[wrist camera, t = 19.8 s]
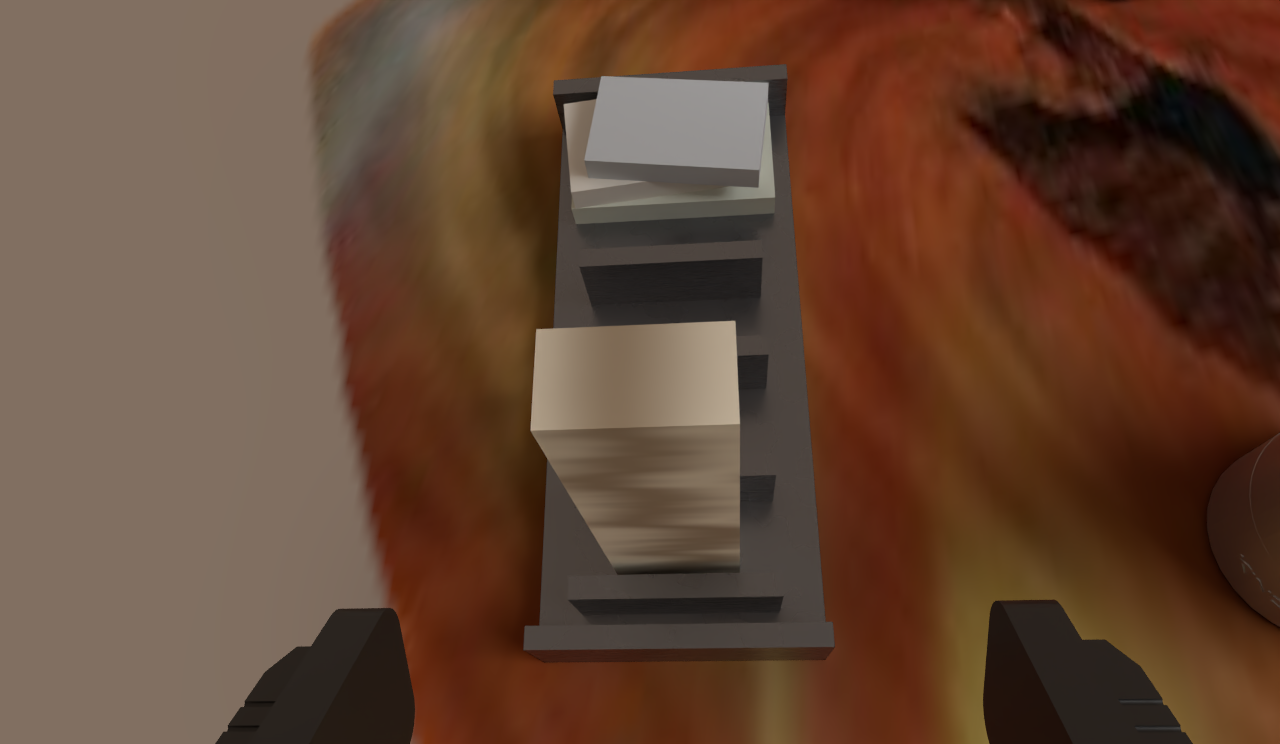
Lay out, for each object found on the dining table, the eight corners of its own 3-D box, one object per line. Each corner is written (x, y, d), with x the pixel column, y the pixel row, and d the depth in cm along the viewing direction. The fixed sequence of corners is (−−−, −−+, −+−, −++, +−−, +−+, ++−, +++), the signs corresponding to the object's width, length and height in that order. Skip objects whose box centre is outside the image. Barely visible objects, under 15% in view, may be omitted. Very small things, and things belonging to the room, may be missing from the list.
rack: (782, 118, 54) (787, 51, 49) (825, 659, 41) (837, 643, 36) (567, 132, 55) (550, 67, 50) (544, 662, 42) (518, 647, 37)
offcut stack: (767, 111, 52) (769, 55, 48) (774, 219, 49) (777, 168, 45) (573, 124, 53) (559, 70, 49) (568, 230, 50) (553, 182, 46)
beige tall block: (737, 515, 43) (735, 320, 24) (739, 578, 41) (739, 424, 23) (621, 517, 43) (536, 329, 25) (621, 580, 42) (530, 430, 24)
